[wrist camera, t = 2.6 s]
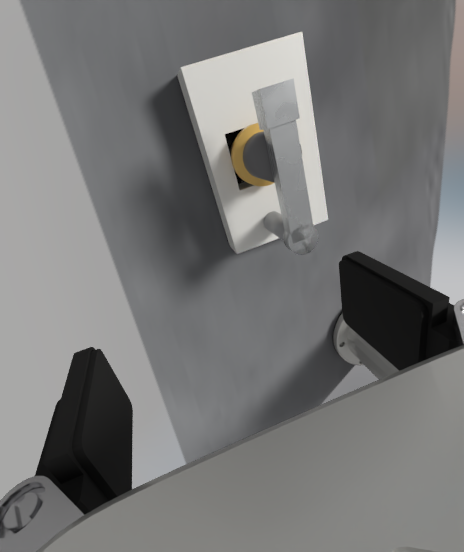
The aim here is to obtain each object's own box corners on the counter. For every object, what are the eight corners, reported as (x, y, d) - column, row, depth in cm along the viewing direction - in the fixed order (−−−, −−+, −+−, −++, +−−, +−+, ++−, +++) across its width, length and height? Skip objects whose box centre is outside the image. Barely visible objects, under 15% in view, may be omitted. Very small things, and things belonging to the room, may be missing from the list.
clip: (284, 82, 21) (294, 77, 20) (312, 243, 27) (321, 249, 25) (250, 93, 21) (258, 89, 19) (285, 253, 26) (293, 260, 25)
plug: (265, 118, 30) (304, 110, 22) (276, 171, 32) (314, 179, 25) (215, 134, 29) (239, 131, 22) (230, 187, 31) (256, 200, 24)
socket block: (286, 42, 27) (338, 6, 20) (314, 213, 35) (358, 232, 28) (176, 75, 26) (190, 48, 19) (229, 245, 34) (253, 273, 26)
